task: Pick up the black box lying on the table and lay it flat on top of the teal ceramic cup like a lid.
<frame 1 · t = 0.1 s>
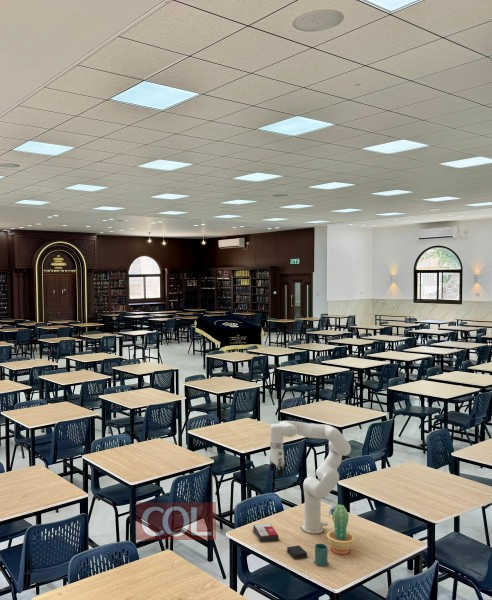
hand: (276, 473, 329), 37 cm above the table, tool pointing down, fingers open, 9 cm apart
cup: (321, 563, 295), on the table
potted cactus: (340, 550, 309), on the table
calculator: (265, 535, 328), on the table
black box: (297, 554, 305), on the table
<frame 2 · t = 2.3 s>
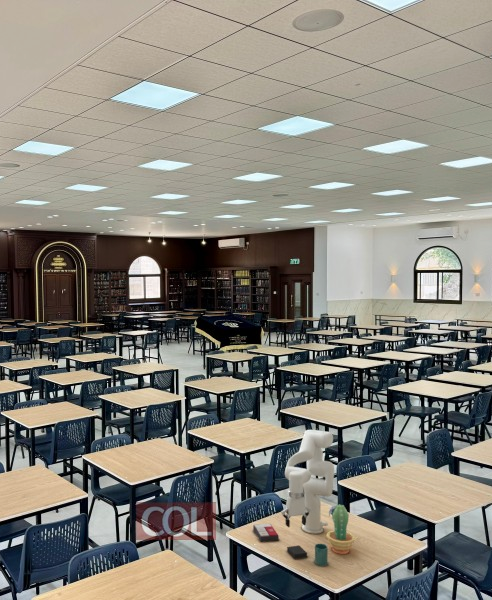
hand: (295, 525, 305), 16 cm above the table, tool pointing down, fingers open, 9 cm apart
nothing on the table moved.
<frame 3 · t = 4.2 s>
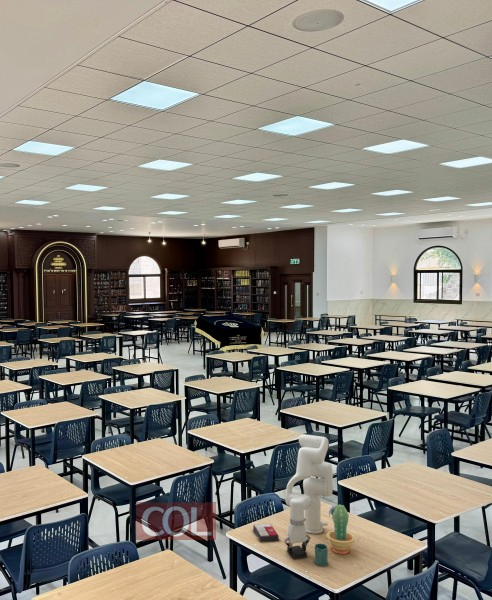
hand: (297, 552, 304), 1 cm above the table, tool pointing down, fingers closed on black box, 7 cm apart
black box: (297, 554, 305), on the table, touching gripper
everything else where it was.
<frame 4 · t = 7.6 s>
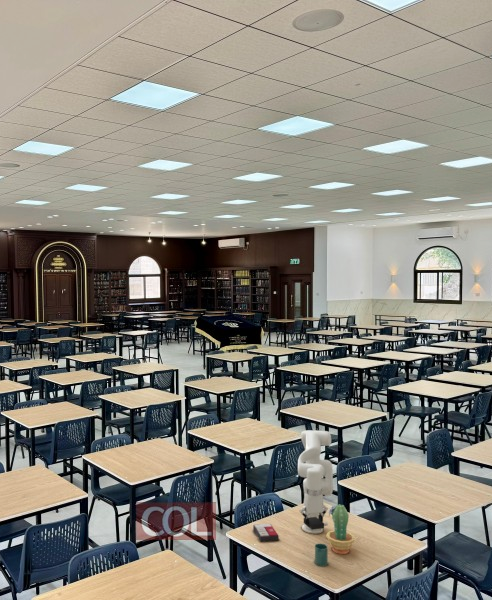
hand: (313, 523, 297), 20 cm above the table, tool pointing down, fingers closed on black box, 7 cm apart
black box: (313, 525, 297), point 19 cm above the table, touching gripper
everything else where it was.
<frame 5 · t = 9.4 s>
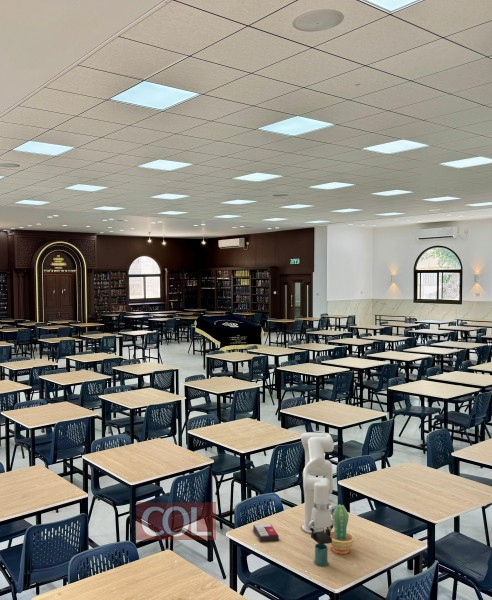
hand: (321, 538, 295), 13 cm above the table, tool pointing down, fingers closed on black box, 7 cm apart
black box: (321, 540, 295), point 12 cm above the table, touching gripper
everything else where it was.
when the fingers open (10 cm above the table, at t = 10.9 s): black box stays where it is, resting on cup.
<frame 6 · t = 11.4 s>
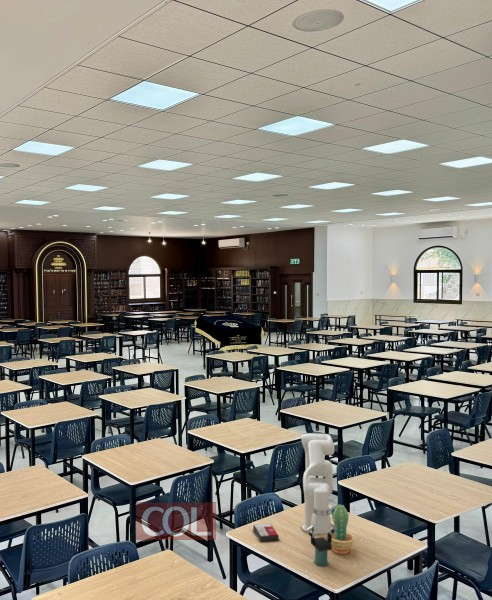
hand: (321, 543, 295), 11 cm above the table, tool pointing down, fingers open, 9 cm apart
cup: (321, 563, 295), on the table, touching black box
black box: (321, 546, 295), point 9 cm above the table, touching cup
everything else where it was.
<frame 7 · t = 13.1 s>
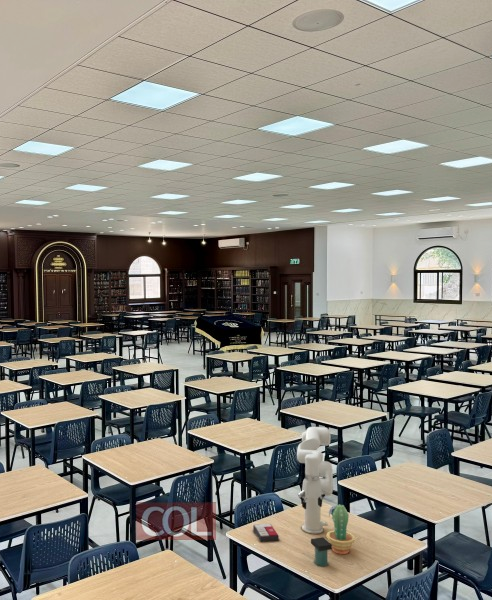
hand: (312, 507, 308), 25 cm above the table, tool pointing down, fingers open, 9 cm apart
nothing on the table moved.
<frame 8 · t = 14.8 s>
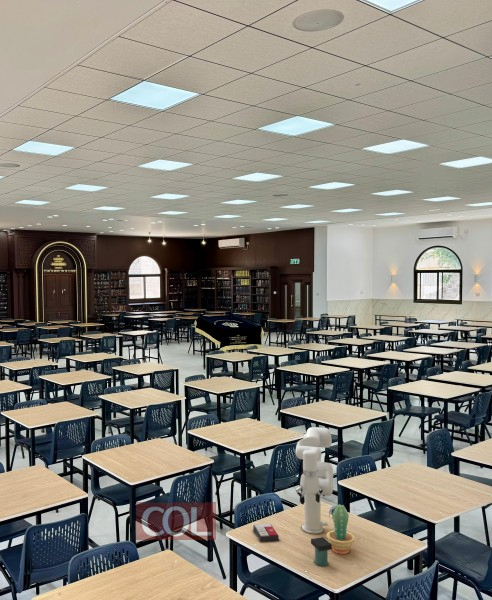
hand: (309, 502, 310), 26 cm above the table, tool pointing down, fingers open, 9 cm apart
nothing on the table moved.
at the end: black box 0.1 cm off-centre on the cup, point 9.0 cm above the cup's base; black box tilted 0°; cup tilted 0° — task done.
